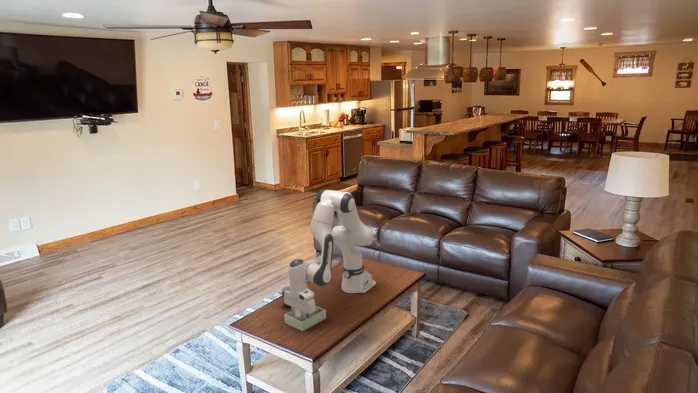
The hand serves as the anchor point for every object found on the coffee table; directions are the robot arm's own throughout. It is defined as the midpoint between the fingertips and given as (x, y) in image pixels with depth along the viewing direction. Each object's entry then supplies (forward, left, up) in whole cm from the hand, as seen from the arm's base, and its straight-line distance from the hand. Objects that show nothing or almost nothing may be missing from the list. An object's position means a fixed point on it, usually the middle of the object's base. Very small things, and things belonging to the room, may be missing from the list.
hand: (299, 316), depth 246 cm
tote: (-4, 0, -4) cm, 6 cm away
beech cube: (-8, 0, -4) cm, 9 cm away
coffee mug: (-12, -19, -5) cm, 23 cm away
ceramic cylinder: (0, 0, -2) cm, 2 cm away
